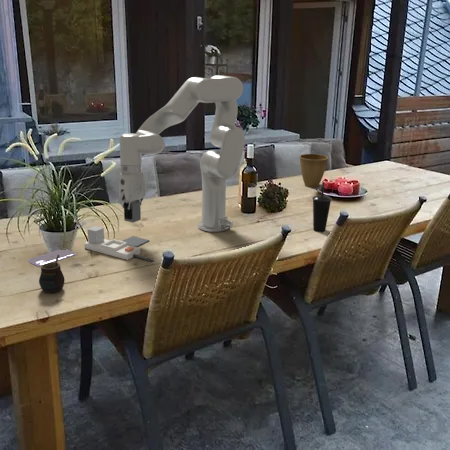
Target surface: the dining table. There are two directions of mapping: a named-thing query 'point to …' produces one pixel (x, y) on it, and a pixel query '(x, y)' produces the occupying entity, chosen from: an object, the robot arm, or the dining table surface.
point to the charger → (134, 212)
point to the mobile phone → (51, 257)
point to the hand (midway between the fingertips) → (132, 216)
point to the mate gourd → (51, 277)
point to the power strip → (111, 245)
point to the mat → (135, 241)
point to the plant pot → (312, 168)
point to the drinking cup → (320, 211)
